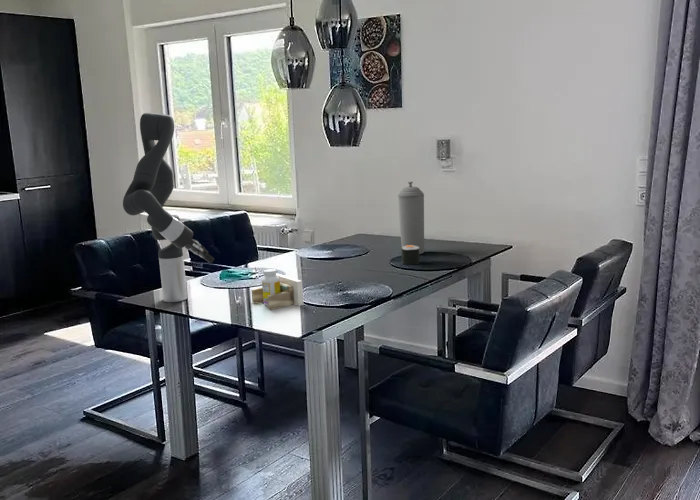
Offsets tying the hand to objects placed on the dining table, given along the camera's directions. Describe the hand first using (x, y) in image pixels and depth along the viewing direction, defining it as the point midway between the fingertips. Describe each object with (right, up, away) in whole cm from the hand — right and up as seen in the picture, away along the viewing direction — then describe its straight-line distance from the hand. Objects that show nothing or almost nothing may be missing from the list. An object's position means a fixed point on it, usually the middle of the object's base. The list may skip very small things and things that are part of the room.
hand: (212, 260), depth 240 cm
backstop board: (+25, -15, +17) cm, 34 cm away
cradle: (+20, -16, +13) cm, 29 cm away
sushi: (+77, -2, +70) cm, 104 cm away
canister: (+79, +2, +92) cm, 121 cm away
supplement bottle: (+20, -16, +13) cm, 29 cm away
